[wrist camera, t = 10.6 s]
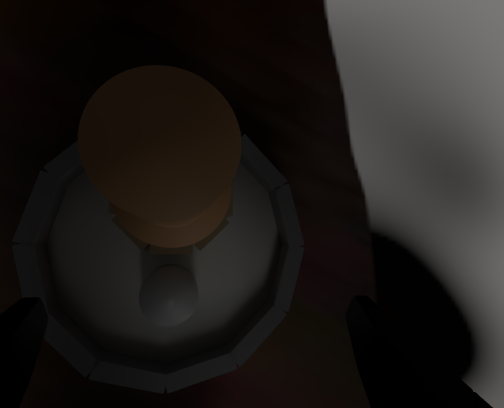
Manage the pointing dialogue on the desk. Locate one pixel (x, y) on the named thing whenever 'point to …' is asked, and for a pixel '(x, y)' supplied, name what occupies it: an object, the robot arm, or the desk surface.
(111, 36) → the desk surface
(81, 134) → the brown waisted peg
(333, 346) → the desk surface
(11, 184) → the desk surface
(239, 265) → the carrier plate
